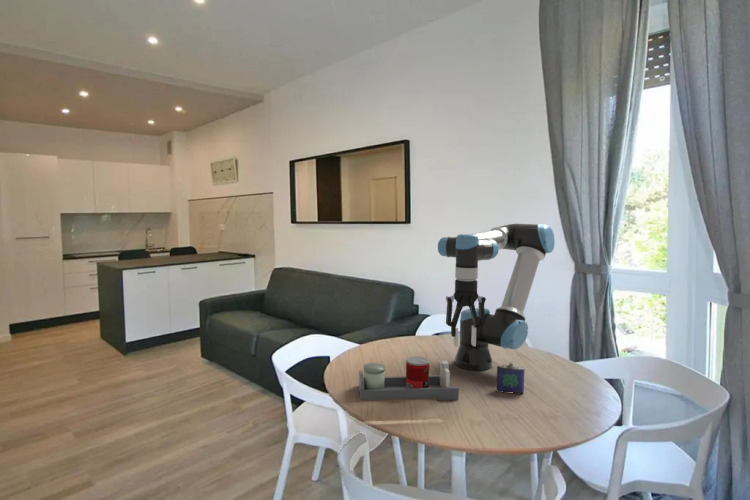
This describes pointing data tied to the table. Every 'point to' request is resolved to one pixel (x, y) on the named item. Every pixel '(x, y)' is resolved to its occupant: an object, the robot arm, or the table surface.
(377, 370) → the green jar
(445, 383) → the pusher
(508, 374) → the flask
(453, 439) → the table surface
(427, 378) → the canned food
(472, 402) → the table surface
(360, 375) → the lane
